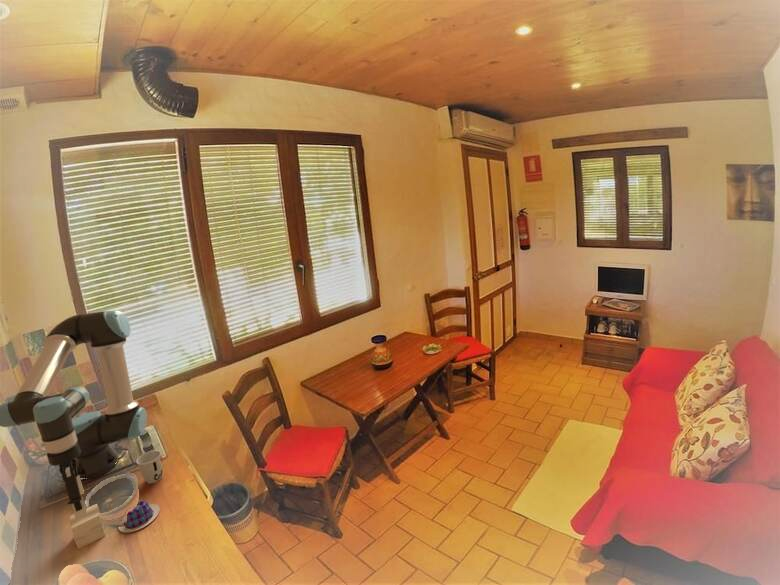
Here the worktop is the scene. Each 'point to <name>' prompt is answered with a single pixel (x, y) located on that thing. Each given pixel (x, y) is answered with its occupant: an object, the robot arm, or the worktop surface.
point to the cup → (151, 466)
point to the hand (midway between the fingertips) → (80, 505)
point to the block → (87, 527)
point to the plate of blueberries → (140, 516)
